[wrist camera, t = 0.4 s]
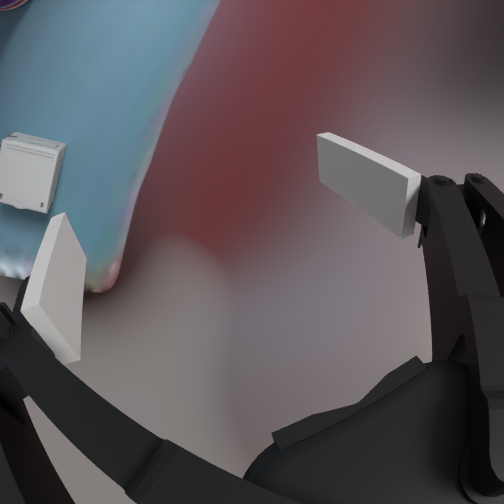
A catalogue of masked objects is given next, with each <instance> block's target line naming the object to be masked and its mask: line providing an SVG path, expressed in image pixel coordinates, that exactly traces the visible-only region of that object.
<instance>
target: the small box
mask: <svg viewBox="0 0 504 504" xmlns="http://www.w3.org/2000/svg"><path fill="white" fill-rule="evenodd" d="M66 146H67V144H66V143H62V142H57V141H53V140H49V139H44V138H40V137H36V136H31V135H27V134H23V133H19V132H14V133H13V134H11V135H9V136H8V137H6V138H4V139H3V140H2V145H1V150H0V203H4V204H8V205H12V206H14V207H16V208H18V209H29V210H33V211H37V212H42V213H47V212H48V210H49V208H50V206H51V204H52V202H53V200H54V196H55V191H56V186H57V182H58V177H59V173H60V169H61V165H62V161H63V158H64V154H65V150H66Z"/></svg>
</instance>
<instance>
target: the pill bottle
mask: <svg viewBox="0 0 504 504" xmlns="http://www.w3.org/2000/svg"><path fill="white" fill-rule="evenodd" d="M26 1H28V0H0V11H6V10H11V9H14V8H17V7H19V6H20V5H22V4H24V3H25V2H26Z"/></svg>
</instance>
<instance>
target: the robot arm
mask: <svg viewBox="0 0 504 504" xmlns="http://www.w3.org/2000/svg"><path fill="white" fill-rule="evenodd" d="M317 146H318V161H319V178H320V182H321V183H323V184H324V185H326V186H327V187H329V188H330V189H332V190H333V191H335V192H336V193H338V194H339V195H341V196H342V197H344V198H345V199H347V200H348V201H349V202H351V203H352V204H354V205H355V206H357V207H358V208H359V209H361V210H362V211H364V212H365V213H367V214H368V215H369V216H371V217H372V218H374V219H375V220H376V221H378V222H379V223H381V224H382V225H383V226H384V227H386V228H387V229H388V230H390V231H391V232H392V233H394V234H395V235H397V236H398V237H399V238H401V239H403V238H405V237H407V236H410V235H412V234H414V228H415V221H417V222H418V223H420V224H421V225H422V226H421V232H420V238H419V243H418V248H420V246H421V245H422V247H423V253H424V260H425V267H426V276H427V284H428V294H429V304H430V317H431V333H432V362H429V363H424V364H423V363H422V361H421V360H420V359H419V358H418V357H417V356H415V357H414V358H412V359H410V360H409V361H408V362H406V363H404V364H403V365H401V366H400V367H398V368H396V369H395V370H393V371H392V372H390V373H388V374H387V375H386V376H385V377H384V378H383V379H382V380H381V381H380V382H379V383H378V384H377V385H376V386H375V387H374V388H373V389H372V390H371V391H370V392H369V393H368V394H367V395H366V396H365V397H364V398H363V399H362V400H361V401H360V402H358V403H356V404H354V405H350V406H346V407H343V408H338V409H335V410H330V411H326V412H322V413H318V414H313V415H311V416H308V417H306V418H304V419H302V420H300V421H298V422H295V423H293V424H291V425H289V426H287V427H284V428H282V429H280V430H277V431H275V432H272V433H271V434H272V437H273V440H274V443H273V444H271V445H270V446H269V447H267V448H266V449H265V450H264V451H263V452H262V453H261V454H259V455H258V456H257V458H256V459H255V460H254V461H253V463H252V464H251V465H250V466H249V468H248V470H247V471H246V473H245V475H244V477H243V479H242V478H239V477H237V476H235V475H233V474H231V473H229V472H227V471H225V470H223V469H220V468H219V467H217V466H215V465H213V464H211V463H209V462H207V461H205V460H203V459H201V458H200V457H198V456H196V455H194V454H192V453H191V452H189V451H187V450H185V449H184V448H182V447H180V446H178V445H177V444H175V443H173V442H171V441H169V440H166V439H165V440H163V439H161V438H159V437H158V436H156V435H155V434H153V433H152V432H150V431H148V430H147V429H145V428H144V427H142V426H141V425H140V424H138V423H137V422H135V421H134V420H132V419H131V418H129V417H128V416H126V415H125V414H124V413H122V412H121V411H120V410H118V409H117V408H116V407H114V406H113V405H112V404H110V403H109V402H107V401H106V400H105V399H104V398H102V397H101V396H99V395H98V394H97V393H96V392H95V391H93V390H92V389H91V388H89V387H88V386H87V385H86V384H85V383H84V382H82V381H81V380H80V379H79V378H78V377H76V376H75V375H74V374H73V373H72V372H71V371H70V370H68V369H67V368H66V367H65V366H64V365H66V364H69V363H72V362H75V361H79V360H81V355H80V354H81V320H82V319H81V318H82V301H83V289H84V278H85V268H86V259H87V258H86V256H85V254H84V252H83V250H82V248H81V246H80V244H79V242H78V240H77V238H76V236H75V234H74V231H73V229H72V227H71V225H70V223H69V221H68V218H67V216H66V214H65V212H63V213H61V214H59V215H56V216H54V217H52V218H51V220H50V222H49V225H48V227H47V230H46V232H45V235H44V238H43V240H42V243H41V246H40V249H39V252H38V254H37V257H36V260H35V263H34V266H33V269H32V272H31V276H29V277H26V279H25V280H24V282H23V283H22V285H21V286H20V288H19V292H18V297H17V298H16V302H15V303H16V304H15V305H14V308H13V312H11V310H10V309H9V307H8V306H7V304H6V303H3V302H1V303H0V504H75V502H74V501H73V499H72V498H71V496H70V494H69V493H68V491H67V490H66V488H65V486H64V484H63V483H62V481H61V479H60V477H59V476H58V474H57V472H56V470H55V468H54V466H53V465H52V463H51V461H50V459H49V457H48V455H47V453H46V451H45V449H44V447H43V445H42V443H41V441H40V439H39V436H38V434H37V433H36V430H35V428H34V425H33V423H32V421H31V418H30V416H29V414H28V411H27V409H26V406H25V404H24V401H23V399H24V398H25V397H27V396H28V395H29V396H30V397H31V398H32V399H33V401H34V402H35V403H36V404H37V405H38V407H39V408H40V409H41V410H42V411H43V412H44V413H45V415H46V416H47V417H48V418H49V419H50V420H51V421H52V422H53V424H54V425H55V426H56V427H57V428H58V429H59V430H60V431H61V432H62V433H63V434H64V435H65V436H66V437H67V438H68V439H69V440H70V441H71V442H72V443H73V444H74V445H75V446H76V447H77V448H78V449H79V450H80V451H81V452H82V453H83V454H84V455H85V456H86V457H87V458H88V459H89V460H91V461H92V462H93V463H94V464H95V465H96V466H97V467H98V468H99V469H101V470H102V471H103V472H104V473H105V474H106V475H108V476H109V477H110V478H111V479H112V480H114V481H115V482H116V483H117V484H118V485H120V486H121V487H122V488H123V489H124V490H125V494H127V496H128V497H129V498H130V499H132V500H133V501H134V502H135V503H137V504H504V194H503V193H502V192H501V191H500V190H499V189H498V188H497V187H496V186H495V185H494V184H493V183H492V182H491V181H490V180H489V179H487V178H486V177H484V176H482V175H481V174H477V173H475V174H473V173H469V174H467V175H465V181H464V184H461V185H457V184H456V183H455V182H454V181H453V180H452V179H450V178H447V177H445V176H439V175H434V176H430V177H429V178H426V177H424V176H423V175H421V174H419V173H417V172H415V171H413V170H411V169H409V168H407V167H405V166H403V165H401V164H399V163H397V162H395V161H393V160H391V159H389V158H387V157H385V156H382V155H380V154H378V153H376V152H374V151H372V150H369V149H367V148H365V147H362V146H360V145H358V144H356V143H353V142H351V141H349V140H346V139H344V138H341V137H339V136H337V135H334V134H332V133H323V134H318V135H317ZM484 214H485V217H486V219H485V224H483V218H484ZM55 356H56V357H57V358H58V359H59V361H60V362H61V363H60V362H59V361H58V360H57V359H56V358H55Z"/></svg>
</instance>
